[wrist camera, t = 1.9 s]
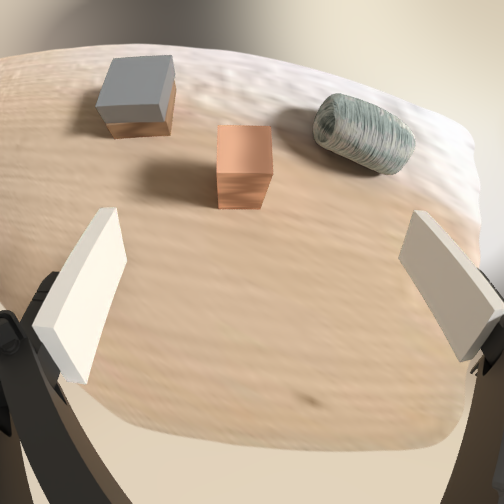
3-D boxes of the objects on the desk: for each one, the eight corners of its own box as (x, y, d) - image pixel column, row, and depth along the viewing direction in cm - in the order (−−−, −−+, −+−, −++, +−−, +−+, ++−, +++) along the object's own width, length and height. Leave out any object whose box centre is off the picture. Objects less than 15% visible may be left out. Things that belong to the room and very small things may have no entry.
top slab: (105, 123, 35) (95, 106, 31) (120, 76, 37) (113, 58, 33) (164, 122, 36) (158, 104, 32) (175, 74, 37) (171, 55, 33)
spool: (295, 147, 37) (346, 89, 29) (305, 114, 43) (347, 65, 35) (377, 207, 40) (432, 164, 33) (375, 167, 46) (420, 128, 38)
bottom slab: (114, 140, 39) (106, 125, 35) (124, 94, 40) (117, 78, 36) (170, 136, 40) (166, 121, 36) (176, 90, 41) (173, 73, 37)
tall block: (218, 209, 38) (216, 173, 28) (219, 171, 39) (217, 125, 28) (260, 209, 39) (273, 173, 28) (259, 171, 40) (270, 126, 29)
